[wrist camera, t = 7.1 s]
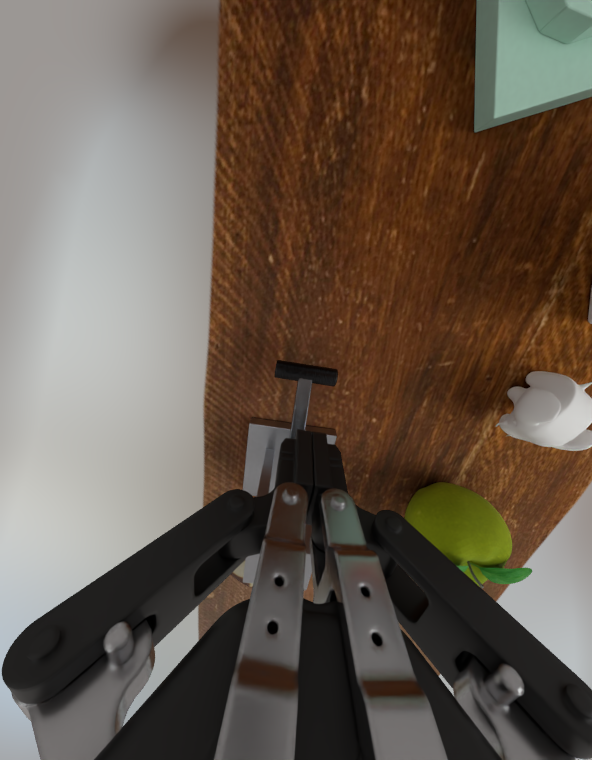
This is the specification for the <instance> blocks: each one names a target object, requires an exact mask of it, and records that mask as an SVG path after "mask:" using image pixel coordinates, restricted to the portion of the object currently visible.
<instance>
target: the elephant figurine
mask: <svg viewBox="0 0 592 760" xmlns="http://www.w3.org/2000/svg"><path fill="white" fill-rule="evenodd" d="M526 383H527V384H529V385H530V387H529V388H527V389H525V388H523V387H518V386H517V387H513V388H511V389H509V390H508V392H507V395H508V397H509V398H510V399H511V400H512V401H513V404H514V410H513V411H512V413H511V414H505V415H503V416H501V418H500V421H499V423H498V424H497V425H496V426H498V425H499V426H500V427H501V429H502V430H503V431H504V432H506V433H507V434H508V435H507V436H512V437H514V438H517V439H522V440H526V441H529V442H532V443H534V444H537V445H540V446H545V447H554V448H557V449H562V450H570V451H577V450H585V449H588V448H590V447H591V446H592V431H590V430H586V428H587V427H588V426H589V425H590V424H591V423H592V398H591V397H590V396H589V395H588V394H587V393H586V392H585V391H584V390H585V388H587V387H588V386H589V385H591V384H592V382H591V383H587V384H583V385H577V384H576V383H575V382H574V381H573V380H572V379H571V378H569V377H567V376H565V375H561V374H557V373H552V372H544V371H534V372H531V373H529V374H528V375H527V376H526ZM496 426H495V427H496Z"/></svg>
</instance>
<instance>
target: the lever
mask: <svg viewBox="0 0 592 760" xmlns="http://www.w3.org/2000/svg"><path fill="white" fill-rule="evenodd" d="M275 377H276V378H282V379H289V380H295V381H298V383H297V390H296V396H295V403H294V410H293V416H292V423H291V430H290V436H289V438H291V439H295V436H296V431H297V429H299V430H305V426H306V419H307V412H308V406H309V399H310V392H311V386H312V383H315V384H321V385H328V386H335V385H336V382H337V377H338V371H337V369H332V368H326V367H319V366H313V365H306V364H300V363H294V362H287V361H281V360H277V363H276V370H275Z"/></svg>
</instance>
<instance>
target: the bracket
mask: <svg viewBox="0 0 592 760" xmlns="http://www.w3.org/2000/svg"><path fill="white" fill-rule="evenodd" d="M290 430H291V423H287V422H280V421H273V420H266V419H259V418H253V417H252V418H251V420H250V423H249V432H248V442H247V452H246V462H245V471H244V481H243V490H244V491H247V492H248V493H250V494H251V495H253V496H257V497H260V496H264V495H267V494H268V493H270V492H271V491H272V490H273V489H274V488H275V480H276V472H277V464H278V458H279V452H280V446H281V443H282V442H283V441H284V439H285V438H289V436H290ZM305 430H306V431H311V432H312V431H313V432H320V433H326V435H327V443H328V444H333V445H335V441H336V437H337V435H336V430H334V429H328V428H321V427H314V426H307V425H306V426H305ZM311 533H312V527H311V525H307V524H306V531H305V544H306V562H305V577H304V590H306V589H307V586H308V583H309V579H310V576H311V573H312V566H311V556H310V545H309V541H310V537H311ZM259 556H260V554H256V555H252V556H248V557H247V558H246V559H245V567H244V575H243V582H244V583H252V584H253V583H254V579H255V574H256V570H257V565H258V561H259Z"/></svg>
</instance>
